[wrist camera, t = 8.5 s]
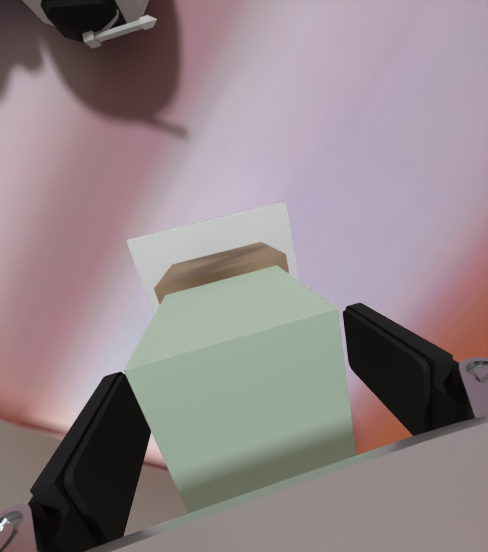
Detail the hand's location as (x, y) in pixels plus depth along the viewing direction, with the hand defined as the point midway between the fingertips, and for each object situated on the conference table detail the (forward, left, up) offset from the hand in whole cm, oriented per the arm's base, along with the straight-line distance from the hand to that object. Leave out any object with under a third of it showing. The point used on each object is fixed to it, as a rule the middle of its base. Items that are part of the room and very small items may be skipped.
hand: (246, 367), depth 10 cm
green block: (0, 0, -3) cm, 3 cm away
